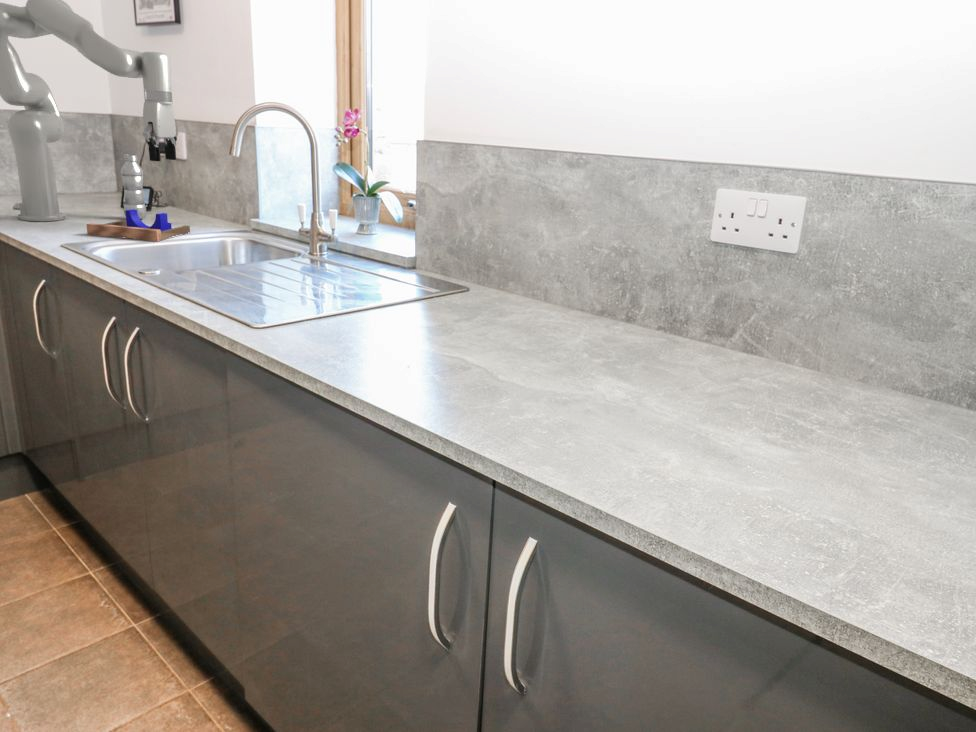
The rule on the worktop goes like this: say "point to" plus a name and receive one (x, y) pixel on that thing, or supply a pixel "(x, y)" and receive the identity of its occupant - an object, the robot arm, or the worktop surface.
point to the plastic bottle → (133, 185)
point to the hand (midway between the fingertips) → (163, 159)
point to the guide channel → (133, 231)
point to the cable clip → (135, 221)
